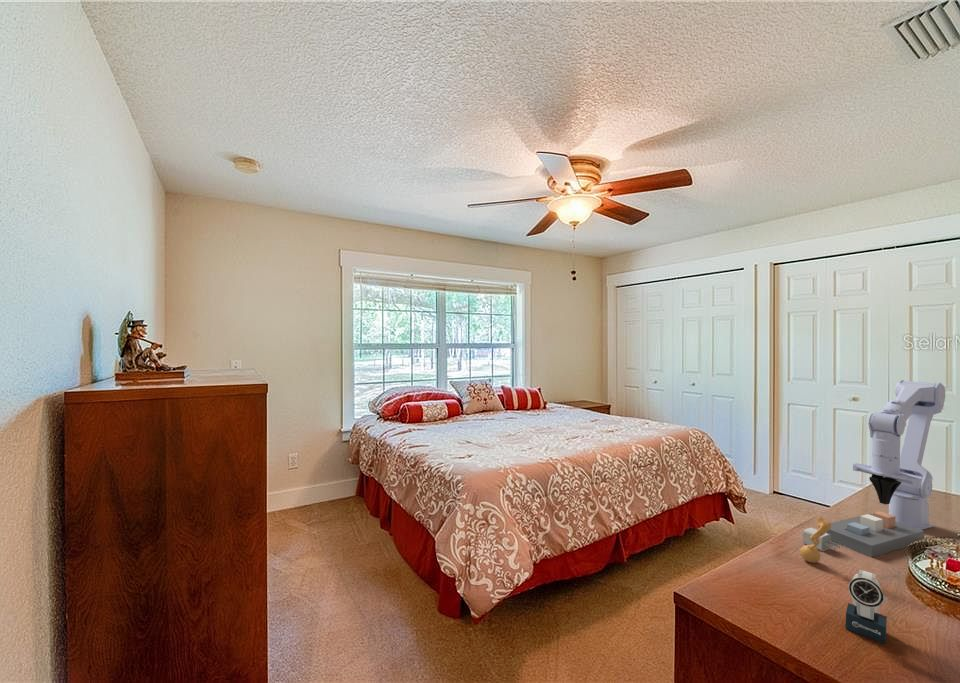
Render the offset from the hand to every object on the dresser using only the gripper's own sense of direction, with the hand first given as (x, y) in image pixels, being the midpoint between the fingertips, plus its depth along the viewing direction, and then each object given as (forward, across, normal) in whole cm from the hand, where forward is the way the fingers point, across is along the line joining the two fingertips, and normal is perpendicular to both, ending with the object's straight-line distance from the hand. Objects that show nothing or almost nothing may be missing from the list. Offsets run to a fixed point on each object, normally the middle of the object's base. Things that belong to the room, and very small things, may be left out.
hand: (884, 503), depth 119 cm
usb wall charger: (+10, -1, -25) cm, 27 cm away
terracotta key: (+7, 0, 0) cm, 7 cm away
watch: (+10, +22, -52) cm, 57 cm away
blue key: (+8, 0, -12) cm, 14 cm away
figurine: (+10, +3, -35) cm, 36 cm away
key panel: (+9, 0, -6) cm, 11 cm away
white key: (+7, 0, -6) cm, 9 cm away
